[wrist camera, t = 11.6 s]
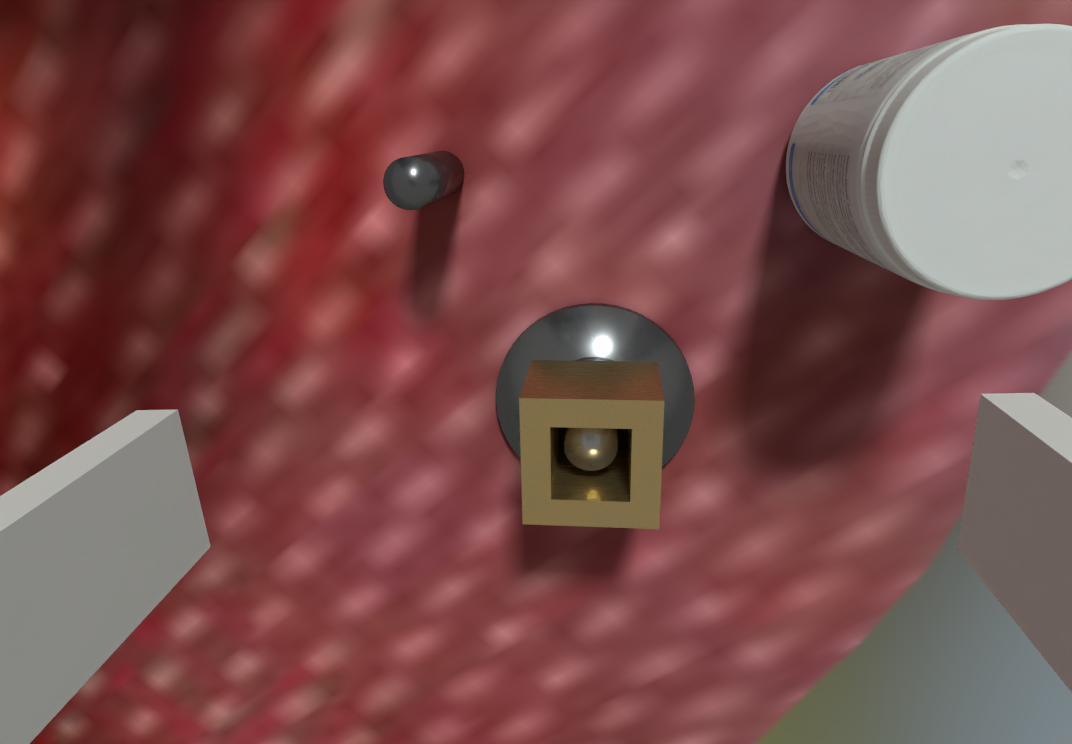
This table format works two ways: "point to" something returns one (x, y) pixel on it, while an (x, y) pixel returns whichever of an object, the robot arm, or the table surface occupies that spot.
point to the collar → (591, 402)
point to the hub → (597, 339)
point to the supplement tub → (948, 162)
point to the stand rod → (422, 179)
